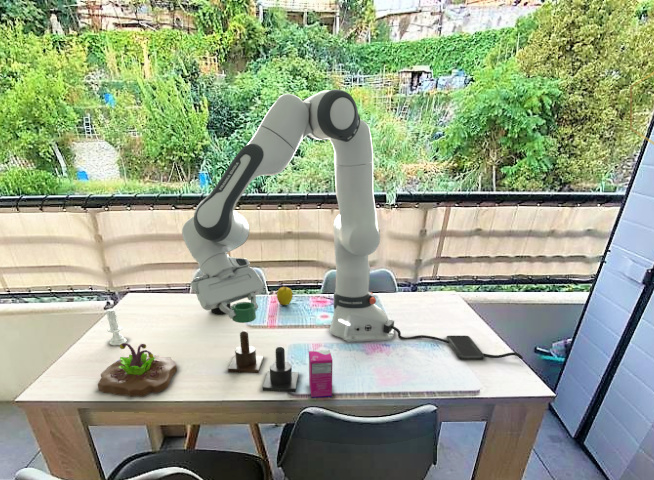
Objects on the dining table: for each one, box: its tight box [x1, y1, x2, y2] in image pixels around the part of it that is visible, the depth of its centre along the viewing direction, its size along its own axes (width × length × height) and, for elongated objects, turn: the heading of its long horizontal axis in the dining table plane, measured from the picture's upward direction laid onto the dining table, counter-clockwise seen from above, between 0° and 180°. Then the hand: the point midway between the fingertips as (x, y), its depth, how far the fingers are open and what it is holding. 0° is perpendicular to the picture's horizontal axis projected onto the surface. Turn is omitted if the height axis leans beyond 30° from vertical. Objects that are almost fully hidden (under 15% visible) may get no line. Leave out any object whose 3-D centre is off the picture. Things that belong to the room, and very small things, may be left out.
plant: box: [97, 342, 178, 398], centre depth 116 cm, size 20×20×11 cm
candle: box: [105, 308, 128, 346], centre depth 136 cm, size 5×5×12 cm
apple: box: [276, 286, 294, 306], centre depth 167 cm, size 6×6×8 cm
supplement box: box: [308, 349, 334, 399], centre depth 110 cm, size 6×6×12 cm
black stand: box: [261, 345, 300, 393], centre depth 114 cm, size 9×9×11 cm
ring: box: [231, 301, 257, 324], centre depth 116 cm, size 6×6×4 cm
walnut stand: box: [227, 330, 265, 374], centre depth 123 cm, size 9×9×11 cm
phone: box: [445, 335, 485, 360], centre depth 135 cm, size 8×1×15 cm
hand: (245, 313), depth 116 cm, fingers closed on ring, 6 cm apart
